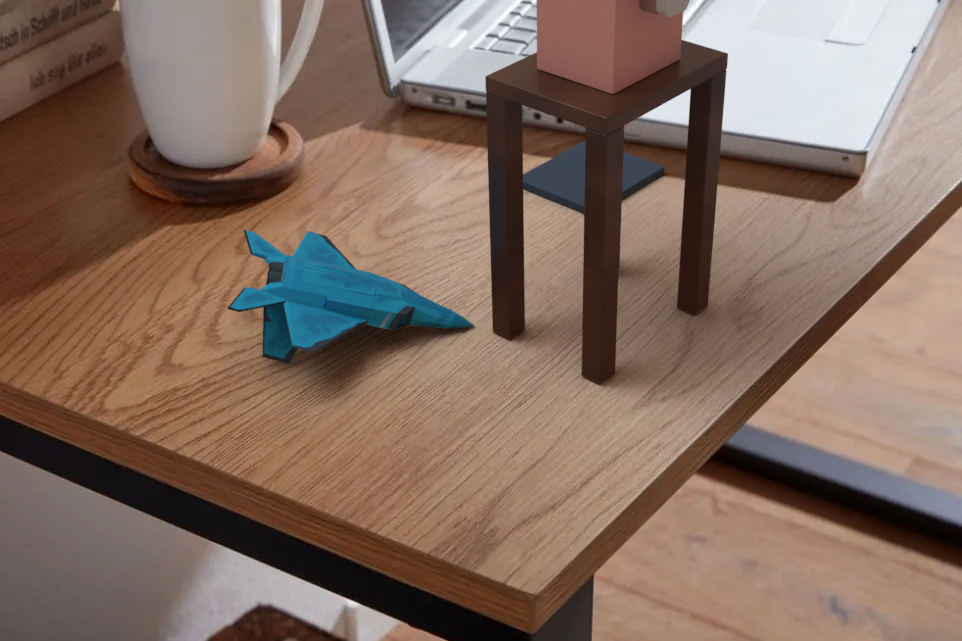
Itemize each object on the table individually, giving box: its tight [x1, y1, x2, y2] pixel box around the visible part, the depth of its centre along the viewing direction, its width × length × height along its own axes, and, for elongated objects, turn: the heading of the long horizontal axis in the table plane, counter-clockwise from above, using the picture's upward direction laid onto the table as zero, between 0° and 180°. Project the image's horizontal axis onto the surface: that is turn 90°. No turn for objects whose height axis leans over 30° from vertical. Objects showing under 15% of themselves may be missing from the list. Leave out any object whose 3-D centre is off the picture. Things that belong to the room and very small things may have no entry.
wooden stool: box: [484, 39, 729, 385], centre depth 65 cm, size 7×9×14 cm
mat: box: [523, 140, 666, 214], centre depth 81 cm, size 6×7×1 cm
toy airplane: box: [227, 229, 475, 365], centre depth 68 cm, size 12×10×4 cm
